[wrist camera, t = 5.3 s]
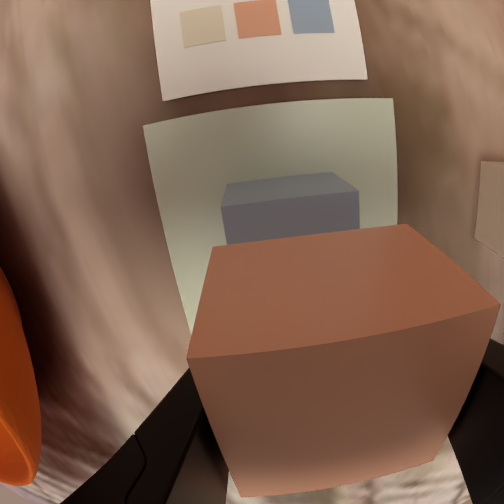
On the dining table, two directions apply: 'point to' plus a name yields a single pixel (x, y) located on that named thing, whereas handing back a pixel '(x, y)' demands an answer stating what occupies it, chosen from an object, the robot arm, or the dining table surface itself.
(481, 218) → the brick
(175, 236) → the plate
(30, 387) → the bowl
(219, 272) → the brick
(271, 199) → the brick base
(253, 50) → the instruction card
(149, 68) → the dining table surface
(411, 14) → the dining table surface
